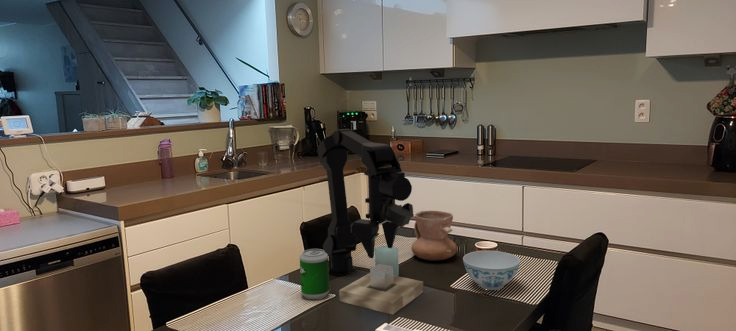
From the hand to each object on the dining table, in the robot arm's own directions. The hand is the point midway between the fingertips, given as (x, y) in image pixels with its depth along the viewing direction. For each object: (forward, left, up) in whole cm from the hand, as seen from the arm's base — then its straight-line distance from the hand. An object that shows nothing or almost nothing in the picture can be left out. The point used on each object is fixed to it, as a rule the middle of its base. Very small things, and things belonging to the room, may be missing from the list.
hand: (380, 252), depth 136 cm
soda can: (-16, -8, -12) cm, 22 cm away
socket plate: (0, 0, -12) cm, 12 cm away
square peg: (0, 0, -12) cm, 12 cm away
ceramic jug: (-3, +36, -12) cm, 38 cm away
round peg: (-7, +14, -12) cm, 20 cm away
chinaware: (+22, +21, -12) cm, 33 cm away
